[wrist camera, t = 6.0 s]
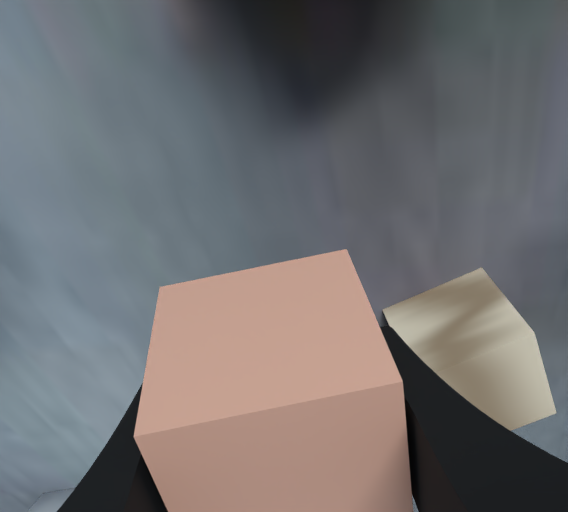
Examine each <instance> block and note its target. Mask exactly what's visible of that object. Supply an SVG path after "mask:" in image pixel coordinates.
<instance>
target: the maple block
mask: <svg viewBox="0 0 568 512" xmlns="http://www.w3.org/2000/svg"><path fill="white" fill-rule="evenodd" d="M383 312H384V315H385V317H386V319H387V321H388V324H389V326H390V327H392V328H393V329H394V330H395V331H396V333H397V334H398V335H399V336H400V337H401V338H402V340H403V341H404V342H405V343H406V344H407V345H408V346H409V347H410V348H411V349H412V350H413V351H414V353H415V354H416V355H417V356H418V357H419V358H420V359H421V360H422V361H423V362H424V363H425V364H426V365H427V366H429V367H430V368H431V369H432V370H433V371H434V372H435V373H436V374H437V375H438V376H439V377H440V378H441V379H443V380H444V381H445V382H446V383H447V384H448V385H449V386H451V387H452V388H453V389H454V390H455V391H457V392H458V393H459V394H460V395H461V396H463V397H464V398H465V399H466V400H468V401H469V402H470V403H471V404H473V405H474V406H475V407H477V408H478V409H479V410H481V411H482V412H483V413H485V414H486V415H488V416H489V417H491V418H492V419H493V420H495V421H496V422H498V423H499V424H501V425H502V426H504V427H505V428H507V429H508V430H510V431H511V430H514V429H516V428H519V427H522V426H524V425H527V424H530V423H532V422H535V421H537V420H540V419H543V418H545V417H548V416H551V415H553V414H556V409H555V406H554V402H553V398H552V395H551V391H550V387H549V384H548V380H547V376H546V373H545V369H544V366H543V362H542V358H541V355H540V351H539V347H538V344H537V340H536V336H535V333H534V331H533V330H532V329H531V328H530V327H529V325H528V324H527V323H526V322H525V320H524V319H523V318H522V317H521V315H520V314H519V313H518V312H517V310H516V309H515V308H514V307H513V306H512V304H511V303H510V302H509V301H508V299H507V298H506V297H505V296H504V294H503V293H502V292H501V291H500V290H499V288H498V287H497V286H496V285H495V283H494V282H493V281H492V280H491V278H490V277H489V276H488V275H487V274H486V272H485V271H484V270H483V269H482V268H480V269H477V270H475V271H473V272H470V273H468V274H465V275H463V276H461V277H458V278H456V279H454V280H451V281H449V282H447V283H444V284H442V285H440V286H437V287H435V288H433V289H430V290H428V291H426V292H423V293H421V294H419V295H416V296H414V297H412V298H409V299H407V300H404V301H402V302H400V303H397V304H395V305H393V306H390V307H388V308H386V309H383Z"/></svg>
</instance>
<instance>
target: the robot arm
mask: <svg viewBox="0 0 568 512" xmlns="http://www.w3.org/2000/svg"><path fill="white" fill-rule="evenodd" d="M380 329H381V331H382V334H383V336H384V338H385V341H386V343H387V345H388V348H389V350H390V352H391V355H392V357H393V360H394V362H395V364H396V367H397V369H398V371H399V374H400V376H401V378H402V381H403V389H404V402H405V414H406V427H407V440H408V452H409V465H410V477H411V490H412V495H413V497H414V500H415V502H416V505H417V508H418V511H419V512H568V463H567V462H565V461H563V460H561V459H559V458H557V457H555V456H553V455H551V454H549V453H547V452H546V451H544V450H542V449H540V448H539V447H537V446H535V445H533V444H532V443H530V442H528V441H526V440H525V439H523V438H521V437H519V436H518V435H516V434H515V433H513V432H511V431H510V430H508V429H507V428H505V427H504V426H502V425H501V424H499V423H498V422H496V421H495V420H493V419H492V418H491V417H489V416H488V415H486V414H485V413H483V412H482V411H481V410H479V409H478V408H477V407H475V406H474V405H473V404H471V403H470V402H469V401H468V400H466V399H465V398H464V397H463V396H461V395H460V394H459V393H458V392H457V391H455V390H454V389H453V388H452V387H451V386H449V385H448V384H447V383H446V382H445V381H444V380H443V379H441V378H440V377H439V376H438V375H437V374H436V373H435V372H434V371H433V370H432V369H431V368H430V367H429V366H427V365H426V364H425V363H424V362H423V361H422V360H421V359H420V358H419V357H418V356H417V355H416V354H415V353H414V351H413V350H412V349H411V348H410V347H409V346H408V345H407V344H406V343H405V342H404V341H403V340H402V338H401V337H400V336H399V335H398V334H397V333H396V331H395V330H394V329H393V328H392V327H390V326H384V327H380ZM142 386H143V383H142V385H141V387H140V389H139V390H138V392H137V394H136V396H135V397H134V399H133V401H132V403H131V404H130V406H129V408H128V410H127V411H126V413H125V415H124V417H123V418H122V420H121V421H120V423H119V425H118V426H117V428H116V430H115V431H114V433H113V435H112V436H111V438H110V439H109V441H108V443H107V444H106V446H105V447H104V449H103V450H102V452H101V453H100V454H99V456H98V457H97V459H96V460H95V462H94V463H93V465H92V466H91V468H90V469H89V471H88V472H87V473H86V475H85V476H84V477H83V479H82V480H81V482H80V483H79V484H78V485H77V487H76V488H75V489H74V491H73V492H72V493H71V494H70V496H69V497H68V498H67V499H66V501H65V502H64V503H63V504H62V506H61V507H60V508H59V509H58V510H57V512H168V510H167V508H166V506H165V504H164V502H163V500H162V497H161V495H160V493H159V491H158V489H157V487H156V484H155V482H154V480H153V478H152V476H151V474H150V471H149V469H148V467H147V465H146V463H145V461H144V458H143V456H142V454H141V452H140V450H139V448H138V445H137V443H136V441H135V439H134V431H135V426H136V420H137V414H138V408H139V403H140V397H141V391H142Z"/></svg>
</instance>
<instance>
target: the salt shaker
mask: <svg viewBox="0 0 568 512" xmlns="http://www.w3.org/2000/svg"><path fill="white" fill-rule="evenodd" d="M74 489H75V488H73V489H67V490H61V491H55V492H48V493H43V494H42V496H41V497H40V498H39V499H38V500H37V501H36V502H35V503H34V504H33V506H32V507H31V508H30V509H29V510H28V511H27V512H57V510H58V509H59V508H60V507H61V506H62V504H63V503H64V502H65V501H66V499H67V498H68V497H69V496H70V494H71V493H72V492H73V491H74Z"/></svg>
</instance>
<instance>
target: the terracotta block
mask: <svg viewBox="0 0 568 512" xmlns="http://www.w3.org/2000/svg"><path fill="white" fill-rule="evenodd" d="M134 439H135V441H136V443H137V445H138V448H139V450H140V452H141V454H142V456H143V458H144V461H145V463H146V465H147V467H148V469H149V471H150V474H151V476H152V478H153V480H154V482H155V484H156V487H157V489H158V491H159V493H160V495H161V497H162V500H163V502H164V504H165V506H166V508H167V510H168V512H413V503H412V490H411V477H410V465H409V452H408V440H407V427H406V414H405V402H404V389H403V381H402V378H401V376H400V374H399V371H398V369H397V367H396V364H395V362H394V360H393V357H392V355H391V352H390V350H389V348H388V345H387V343H386V341H385V338H384V336H383V334H382V331H381V329H380V327H379V324H378V322H377V320H376V317H375V315H374V313H373V310H372V308H371V305H370V303H369V301H368V298H367V296H366V294H365V291H364V289H363V287H362V284H361V282H360V280H359V277H358V275H357V273H356V270H355V268H354V266H353V263H352V261H351V259H350V256H349V254H348V251H347V249H344V250H340V251H335V252H330V253H325V254H320V255H315V256H310V257H305V258H300V259H295V260H290V261H286V262H281V263H276V264H271V265H266V266H261V267H256V268H251V269H246V270H241V271H236V272H232V273H227V274H222V275H217V276H212V277H207V278H202V279H197V280H192V281H187V282H182V283H178V284H173V285H168V286H163V287H160V289H159V295H158V300H157V306H156V312H155V317H154V323H153V329H152V334H151V340H150V346H149V351H148V357H147V363H146V369H145V374H144V380H143V386H142V391H141V397H140V403H139V408H138V414H137V420H136V426H135V431H134Z"/></svg>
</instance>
